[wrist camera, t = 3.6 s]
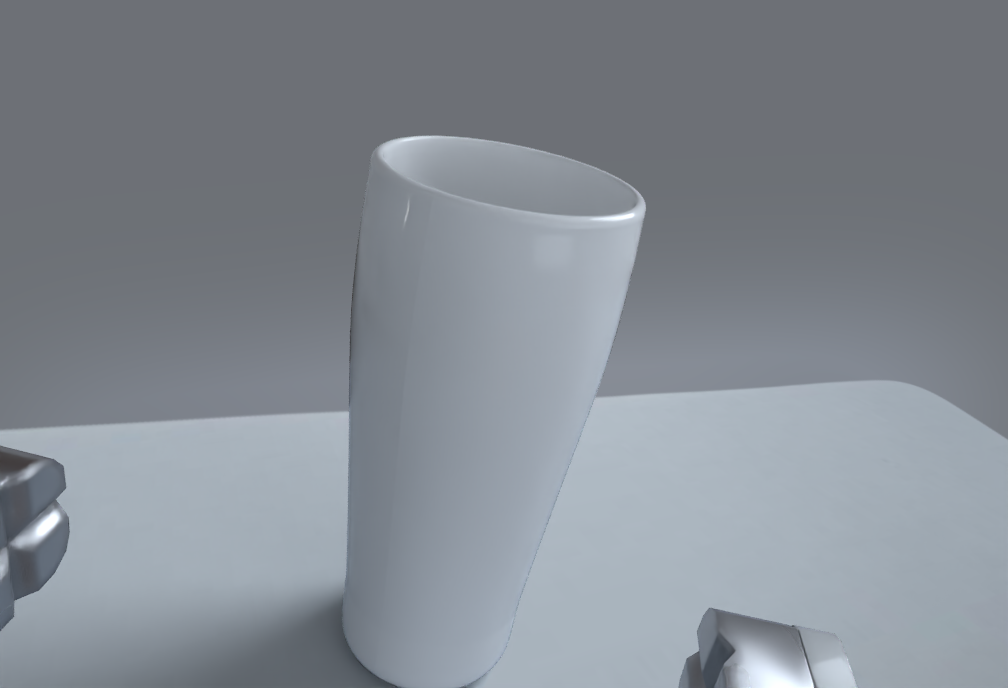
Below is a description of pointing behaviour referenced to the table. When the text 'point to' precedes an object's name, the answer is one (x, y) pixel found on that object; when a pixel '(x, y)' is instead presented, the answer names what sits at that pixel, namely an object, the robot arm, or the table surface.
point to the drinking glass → (469, 387)
